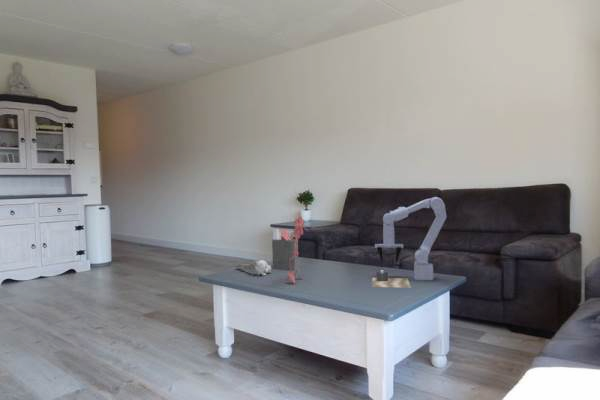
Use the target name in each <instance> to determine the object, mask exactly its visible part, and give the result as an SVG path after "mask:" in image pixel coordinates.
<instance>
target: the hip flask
mask: <svg viewBox="0 0 600 400" xmlns="http://www.w3.org/2000/svg"><path fill="white" fill-rule="evenodd" d="M280 238H281V239H278V238H277V239H275V238H274V239H272V240H271V242H272V243H271V244H272V246H271V247H272V249H271V250H272V252H271V253H272V269H274V268H278V269H277V270H285V269H286V271H290V267H291V272H292V271H296V256H294V254H293V253H294V251H296V242H295V241H294V240H292V239H288V241H285V239H284V238H283V237H282V235H281V236H280ZM293 256H294V257H293ZM292 257H293V258H292ZM291 258H292V259H291ZM290 259H291V260H290ZM289 260H290V263H289Z"/></svg>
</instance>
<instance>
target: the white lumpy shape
mask: <svg viewBox="0 0 600 400" xmlns="http://www.w3.org/2000/svg"><path fill="white" fill-rule="evenodd" d="M257 261H258V263H259V266H256V265H255V269H256V270H257V271H258V273H256V275H257V276H259V275H261V276H265V275H266V276H267V274H269V273H270V274H271V271H272V267H271V265H269V264H268V263H267V261H266V260H262V259H260V260H257ZM266 276H265V277H266Z"/></svg>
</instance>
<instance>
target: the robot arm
mask: <svg viewBox="0 0 600 400" xmlns="http://www.w3.org/2000/svg"><path fill="white" fill-rule="evenodd" d="M430 208H431V209H432V210H433V213H434V215H435V217H434V220H433V222H432V224H431V226H430V228H429V230H428V232H427V234H426V236H425V237H424V239H423V242H422V243H421V245H420V247H419V248H418V249H417V250H415V252H414V259H415V261H413V266H414V267H413V268H414V269H413V270H414V271H413V276H414V277H413V278H414V280H416V281H434V264H433V263H429V255H430V251H431V249H432V247H433V245H434V242H435V241H436V239H437V237H438V235H439V232H440V231H441V229H442V227H443V226H444V223H445V221H446V219H447V211H446V204H445V202H444V200H443V199H442V198H440V197H437V196H433V197H431V198H426V199H423V200H421V201H419V202H416V203H414V204H411V205H409V206H407V207H405V206H399V207H397V208H396V209H394V210H389V212H387V213H385V214H384V215H383V217H382V222H383V224H382V226H383V227H382V235H383V238H382V241H383V243H375V244H374V248H375V249H377V252H378V254H379V257H380V261H381V263H383V262H384V261H383V259H384V258H383V249H395V262H396V263H398V260H399V256H400V254H401V251H402V249H403V248H404V243H395V226H394V224H395V223H394V222H398V221H401V220H403V219H406V218H408V217H409V214H411V213H414V212H416V211H419V210H421V209H430Z"/></svg>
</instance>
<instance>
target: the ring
mask: <svg viewBox="0 0 600 400" xmlns="http://www.w3.org/2000/svg"><path fill="white" fill-rule="evenodd" d="M384 271H385V270H384ZM375 278H377V281H388V278H389V272H388V271H385V273H380V270H378V271H376V277H375Z"/></svg>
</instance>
